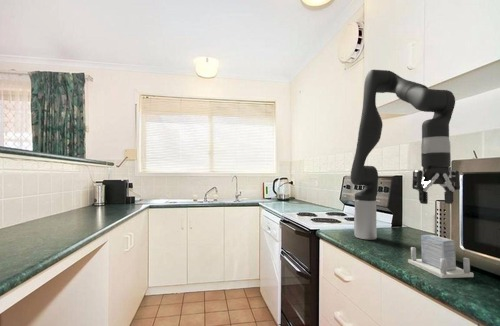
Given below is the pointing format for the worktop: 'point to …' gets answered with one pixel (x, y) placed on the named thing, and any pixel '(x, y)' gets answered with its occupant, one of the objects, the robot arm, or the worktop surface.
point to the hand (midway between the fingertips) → (436, 203)
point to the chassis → (442, 267)
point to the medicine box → (438, 251)
